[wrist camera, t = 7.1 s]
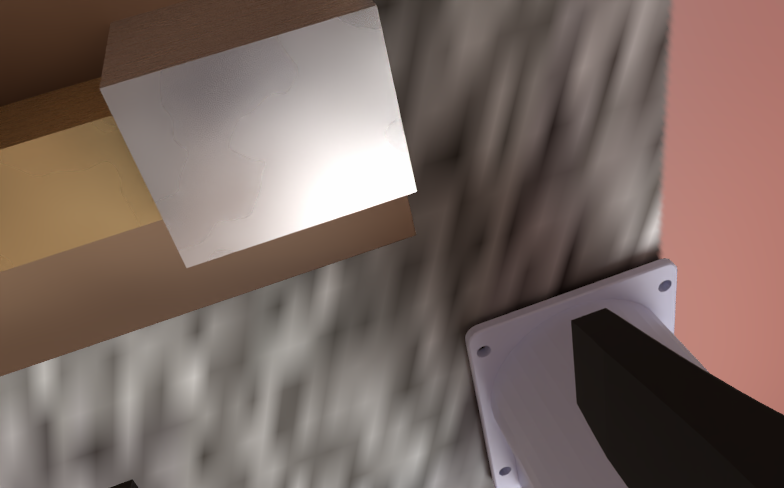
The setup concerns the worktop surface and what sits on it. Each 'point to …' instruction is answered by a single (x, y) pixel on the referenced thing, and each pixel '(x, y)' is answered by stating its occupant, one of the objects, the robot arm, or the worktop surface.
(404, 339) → the worktop surface
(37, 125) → the light wooden block
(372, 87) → the white cardboard cube
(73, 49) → the walnut board
